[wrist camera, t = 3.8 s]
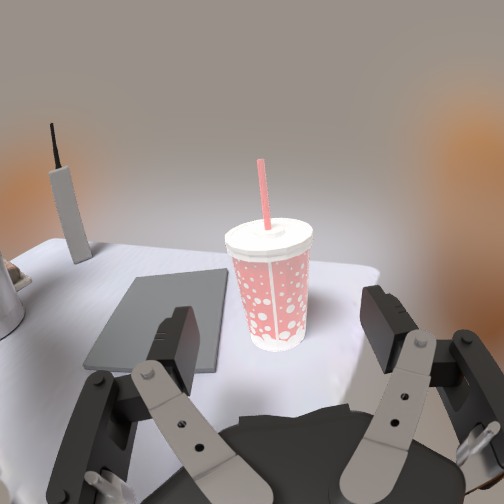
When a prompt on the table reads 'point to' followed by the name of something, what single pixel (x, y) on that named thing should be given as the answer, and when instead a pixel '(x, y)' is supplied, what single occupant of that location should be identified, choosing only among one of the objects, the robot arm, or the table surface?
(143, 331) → the mat
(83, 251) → the vintage mobile phone
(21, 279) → the packaged product
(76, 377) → the table surface
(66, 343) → the table surface
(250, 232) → the beverage cup
